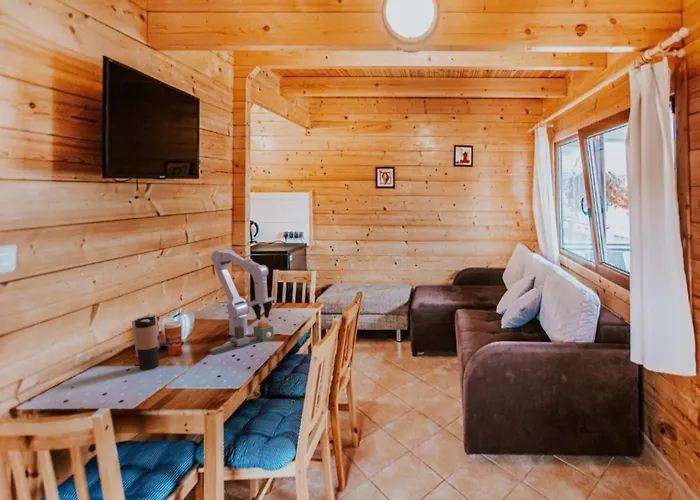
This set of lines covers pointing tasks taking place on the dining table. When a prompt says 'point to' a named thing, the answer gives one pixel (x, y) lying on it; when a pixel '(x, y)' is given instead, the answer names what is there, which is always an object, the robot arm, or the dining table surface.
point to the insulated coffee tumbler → (156, 331)
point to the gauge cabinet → (264, 333)
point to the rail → (232, 346)
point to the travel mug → (147, 343)
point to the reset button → (263, 324)
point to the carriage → (239, 336)
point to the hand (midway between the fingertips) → (262, 318)
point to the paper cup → (173, 337)
